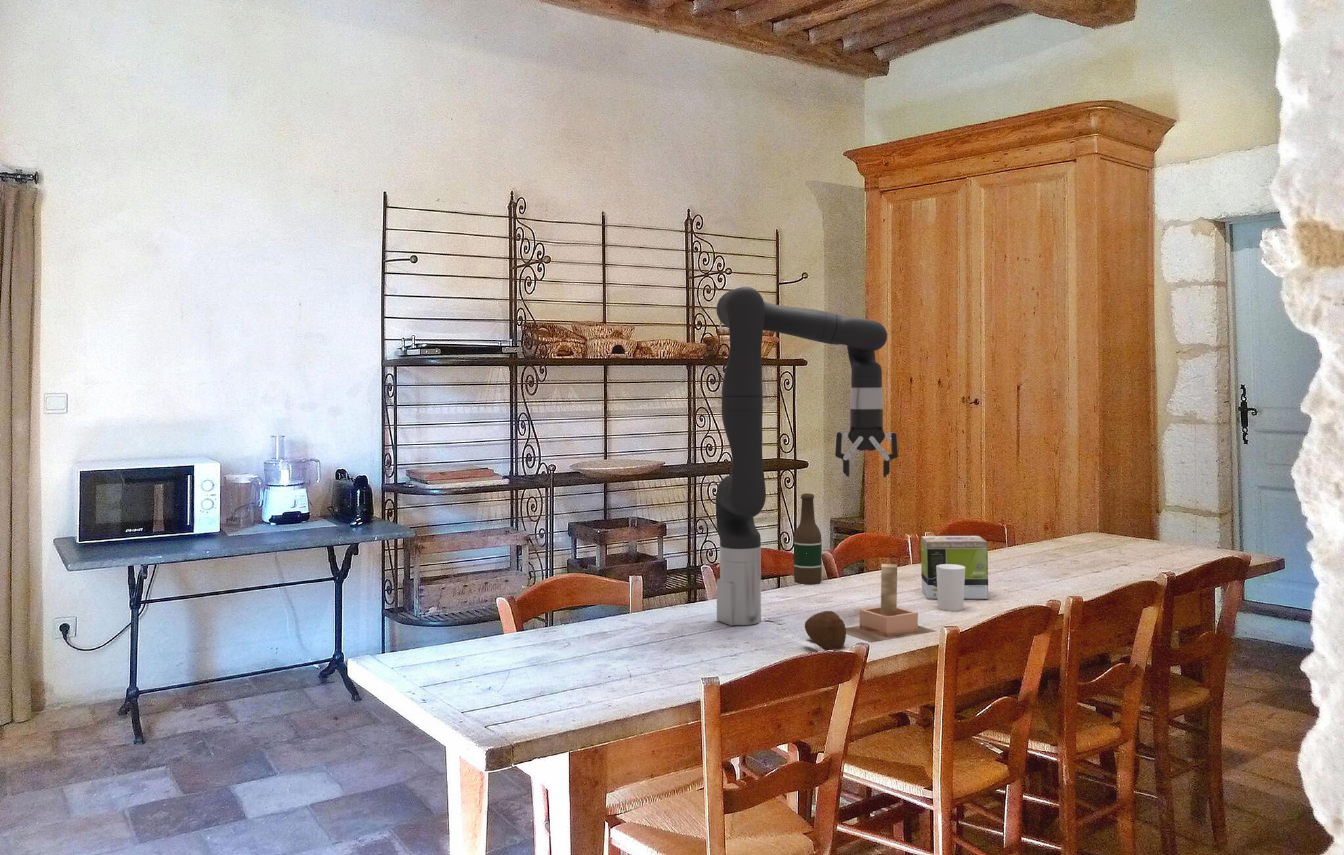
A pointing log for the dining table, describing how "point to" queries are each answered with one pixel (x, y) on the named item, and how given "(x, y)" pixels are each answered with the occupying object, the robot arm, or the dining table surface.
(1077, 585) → the dining table surface
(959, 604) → the white upright cylinder
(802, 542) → the beer bottle
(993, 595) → the dining table surface
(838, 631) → the potato
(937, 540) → the tea box
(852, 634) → the board
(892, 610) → the tan cylinder
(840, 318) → the robot arm
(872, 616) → the pink open tray
